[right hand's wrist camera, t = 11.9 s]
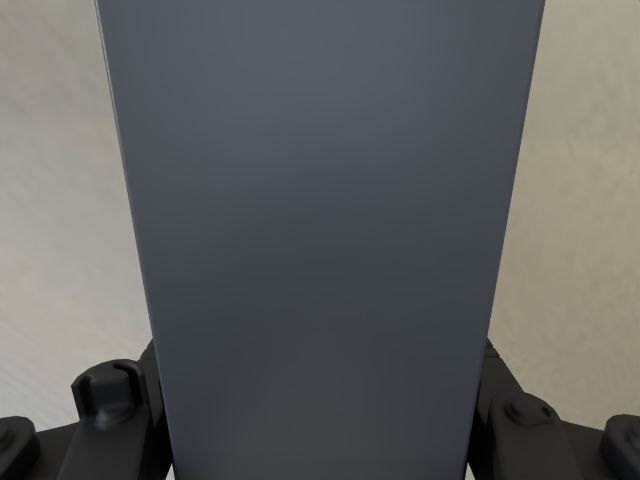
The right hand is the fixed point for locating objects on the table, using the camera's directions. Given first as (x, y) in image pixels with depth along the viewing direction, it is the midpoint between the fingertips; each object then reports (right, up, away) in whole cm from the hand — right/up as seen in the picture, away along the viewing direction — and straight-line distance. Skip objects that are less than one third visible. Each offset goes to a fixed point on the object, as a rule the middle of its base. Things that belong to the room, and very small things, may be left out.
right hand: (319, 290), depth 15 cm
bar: (0, +7, -2) cm, 7 cm away
